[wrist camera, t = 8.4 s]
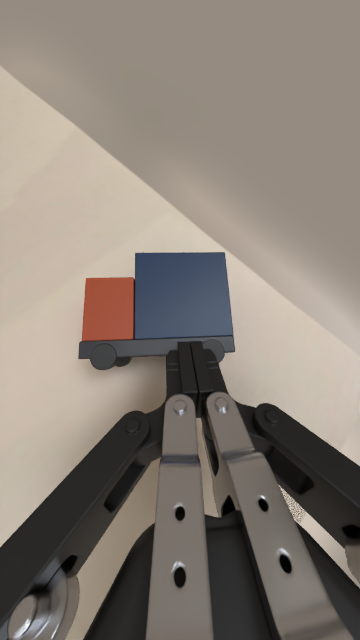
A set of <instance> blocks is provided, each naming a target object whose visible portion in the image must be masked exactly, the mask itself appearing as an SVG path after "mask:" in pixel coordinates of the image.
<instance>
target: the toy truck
mask: <svg viewBox="0 0 360 640" xmlns="http://www.w3.org/2000/svg"><path fill="white" fill-rule="evenodd" d="M185 341H189V342H190V341H202V345H203V349H211V350H212V351H213V353H214V354H215V355H216V358H217V361H218V363H219V362H221V361H222V359H223V358H224V354H225V353H229V352H235V347H234V337H233V327H232V317H231V307H230V298H229V288H228V279H227V269H226V259H225V253H224V252H214V253H135V280H134V278H133V277H129V278H86V286H85V301H84V316H83V332H82V341H81V342H80V343H79V359H90V361H91V364H92V365H93V366H94V367H95V368H96V369H99V370H106V369H110V368H112V367H114V366H118V367H121V366H125V365H127V364H128V363H129V362H130V361H131V358H132V357H149V356H167V354H168V352H169V351H170V350H177V342H185Z"/></svg>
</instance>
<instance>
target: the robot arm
mask: <svg viewBox="0 0 360 640" xmlns="http://www.w3.org/2000/svg"><path fill="white" fill-rule="evenodd" d="M166 381H167V396H166V400H165V402H164V403H163V404H162V406H161V407H159V408H158V409H156V410H154V411H152V412H149V413H147V414H144V413H143V412H141V411H132V412H129V413H127V414H125V415H124V416H123V417H122V418H121V419H120V420H119V421H118V422H117V423H116V424H115V425H114V426H113V428H112V429H111V430H110V431H109V432H108V433H107V434H106V435H105V436H104V437H103V438H102V439H101V440H100V441H99V443H98V444H97V445H96V446H95V447H94V448H93V449H92V450H91V451H90V452H89V453H88V454H87V455H86V456H85V457H84V459H83V460H82V461H81V462H80V463H79V464H78V465H77V466H76V467H75V468H74V469H73V470H72V471H71V472H70V474H69V475H68V476H67V477H66V478H65V479H64V480H63V481H62V482H61V483H60V484H59V485H58V486H57V487H56V488H55V490H54V491H53V492H52V493H51V494H50V495H49V496H48V497H47V498H46V499H45V500H44V501H43V502H42V503H41V505H40V506H39V507H38V508H37V509H36V510H35V511H34V512H33V513H32V514H31V515H30V516H29V517H28V518H27V520H26V521H25V522H24V523H23V524H22V525H21V526H20V527H19V528H18V529H17V530H16V531H15V532H14V533H13V534H12V536H11V537H10V538H9V539H8V540H7V541H6V542H5V543H4V544H3V545H2V546H1V547H0V640H65V638H66V636H67V634H68V632H69V630H70V628H71V626H72V624H73V621H74V618H75V615H76V612H77V608H78V603H79V594H80V589H79V582H78V578H77V576H76V575H77V573H78V572H79V570H80V569H81V567H82V566H83V564H84V563H85V561H86V560H87V558H88V557H89V555H90V554H91V552H92V551H93V549H94V548H95V546H96V545H97V543H98V542H99V540H100V539H101V537H102V536H103V534H104V533H105V531H106V530H107V528H108V527H109V525H110V524H111V522H112V521H113V519H114V518H115V516H116V515H117V513H118V512H119V510H120V509H121V507H122V506H123V504H124V502H125V501H126V499H127V498H128V496H129V495H130V493H131V492H132V490H133V489H134V487H135V486H136V484H137V483H138V481H139V480H140V478H141V477H142V475H143V474H144V472H145V471H146V469H147V468H148V466H149V465H150V463H151V462H152V461H154V460H156V459H158V458H160V457H161V460H160V467H159V478H158V491H157V504H156V516H155V523H154V524H152V525H151V526H149V527H148V528H147V529H146V530H145V531H144V532H143V533H142V534H141V536H140V537H139V538H138V539H137V541H136V542H135V544H134V545H133V547H132V548H131V550H130V552H129V553H128V555H127V557H126V559H125V561H124V563H123V565H122V567H121V568H120V570H119V572H118V574H117V576H116V578H115V580H114V582H113V584H112V586H111V587H110V589H109V591H108V593H107V595H106V597H105V599H104V601H103V603H102V605H101V607H100V608H99V610H98V612H97V614H96V616H95V618H94V620H93V622H92V624H91V626H90V627H89V629H88V631H87V633H86V635H85V637H84V639H83V640H360V589H359V587H358V586H357V585H356V584H355V583H354V582H353V581H352V580H351V579H350V578H349V577H348V576H347V574H346V573H345V572H344V571H343V570H342V569H341V568H340V567H339V566H338V565H337V564H336V563H335V561H334V560H333V559H332V558H331V557H330V556H329V555H328V554H327V553H326V552H325V551H324V550H323V548H322V547H321V546H320V545H319V544H318V543H317V542H316V541H315V540H314V539H313V538H312V537H311V535H310V534H309V533H308V532H307V531H306V530H305V529H303V528H302V527H301V526H300V525H299V524H298V523H297V522H295V521H294V519H293V516H292V514H291V512H290V510H289V508H288V505H287V503H286V501H285V499H284V497H283V494H282V492H281V490H280V488H279V486H278V484H279V485H280V486H281V487H282V488H283V489H284V490H285V491H286V492H287V493H288V494H289V495H290V496H291V497H292V498H293V499H294V500H295V501H296V502H297V503H298V504H299V505H300V506H301V507H302V508H303V509H304V510H305V511H306V512H307V513H308V514H309V515H311V516H312V517H313V518H314V519H315V520H316V521H317V522H318V523H319V524H320V525H321V526H322V527H323V528H324V529H325V530H326V531H327V532H328V533H329V534H330V535H331V536H332V537H333V538H334V539H335V540H336V541H337V542H338V543H339V544H340V545H341V546H343V548H344V549H345V553H346V557H347V564H348V567H349V569H350V571H351V573H352V574H353V576H354V577H355V578H356V579H357V580H358V582H359V583H360V466H359V465H357V464H356V463H354V462H353V461H351V460H350V459H349V458H347V457H346V456H345V455H343V454H342V453H340V452H339V451H338V450H336V449H335V448H333V447H332V446H331V445H329V444H328V443H326V442H325V441H324V440H322V439H321V438H319V437H318V436H317V435H315V434H314V433H313V432H311V431H310V430H308V429H307V428H306V427H304V426H303V425H301V424H300V423H299V422H297V421H296V420H294V419H293V418H292V417H290V416H289V415H287V414H286V413H285V412H283V411H282V410H280V409H279V408H278V407H276V406H274V405H272V404H268V403H263V404H260V405H258V406H257V408H255V407H251V406H247V405H243V404H240V403H238V402H236V401H235V400H234V399H233V398H232V397H231V396H230V395H229V394H228V392H227V389H226V386H225V383H224V380H223V377H222V374H221V371H220V369H219V364H218V361H217V358H216V355H215V354H214V353H213V351H212V350H211V349H203V345H202V341H190V342H189V341H185V342H177V350H170V351H169V352H168V354H167V356H166ZM196 418H201V421H202V436H203V441H204V445H205V449H206V454H207V458H208V462H209V467H210V471H211V476H212V482H213V493H214V499H215V503H216V508H217V512H218V517H219V518H216V517H213V516H209V515H205V514H204V502H203V489H202V476H201V465H200V459H199V456H198V443H197V429H196Z"/></svg>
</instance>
